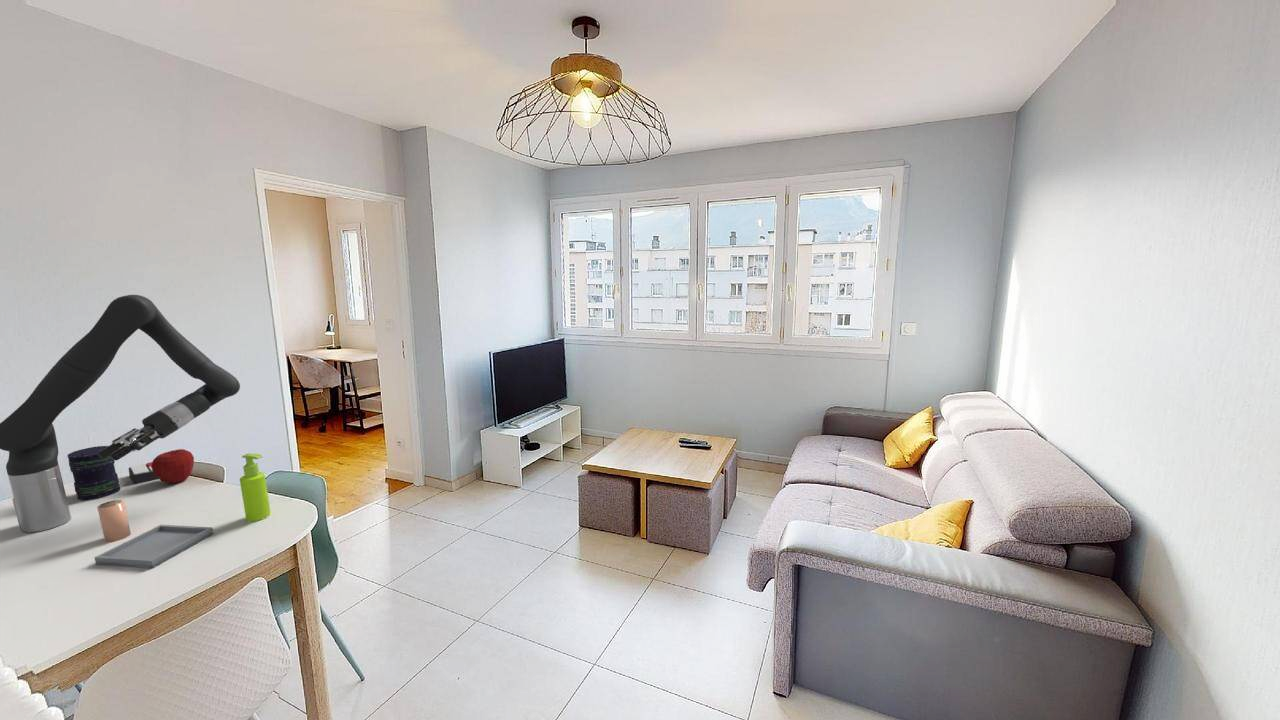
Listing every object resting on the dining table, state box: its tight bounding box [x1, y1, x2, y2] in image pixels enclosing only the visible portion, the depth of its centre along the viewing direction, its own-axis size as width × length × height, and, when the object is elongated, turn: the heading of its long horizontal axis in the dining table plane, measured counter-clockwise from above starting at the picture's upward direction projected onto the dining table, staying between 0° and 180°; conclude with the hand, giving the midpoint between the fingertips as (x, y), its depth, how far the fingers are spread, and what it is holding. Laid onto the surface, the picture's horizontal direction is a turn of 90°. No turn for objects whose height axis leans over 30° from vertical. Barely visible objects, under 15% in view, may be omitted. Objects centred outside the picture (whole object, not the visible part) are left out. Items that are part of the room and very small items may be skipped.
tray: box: [94, 524, 215, 569], centre depth 131 cm, size 16×16×2 cm
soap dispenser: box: [239, 452, 271, 522], centre depth 145 cm, size 6×7×20 cm
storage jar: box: [66, 445, 121, 501], centre depth 160 cm, size 10×10×15 cm
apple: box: [151, 448, 195, 484], centre depth 170 cm, size 11×11×12 cm
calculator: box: [128, 461, 160, 486], centre depth 177 cm, size 11×4×15 cm
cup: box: [96, 499, 132, 543], centre depth 135 cm, size 5×5×10 cm
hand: (106, 457), depth 136 cm, fingers open, 8 cm apart
